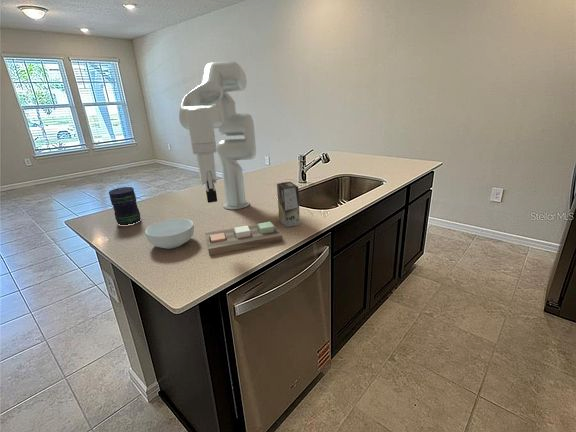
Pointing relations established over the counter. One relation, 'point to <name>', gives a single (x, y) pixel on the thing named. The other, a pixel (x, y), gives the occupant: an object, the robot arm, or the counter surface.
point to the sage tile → (265, 227)
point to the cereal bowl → (170, 233)
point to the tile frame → (241, 240)
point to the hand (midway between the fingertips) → (212, 201)
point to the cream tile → (242, 232)
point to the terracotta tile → (217, 237)
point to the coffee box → (288, 204)
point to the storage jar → (125, 205)
